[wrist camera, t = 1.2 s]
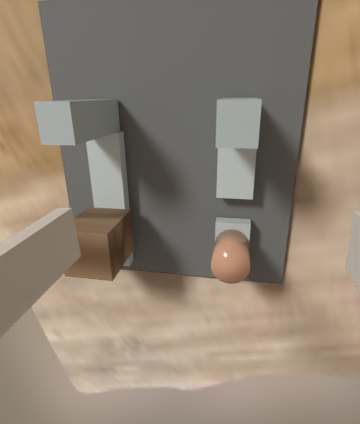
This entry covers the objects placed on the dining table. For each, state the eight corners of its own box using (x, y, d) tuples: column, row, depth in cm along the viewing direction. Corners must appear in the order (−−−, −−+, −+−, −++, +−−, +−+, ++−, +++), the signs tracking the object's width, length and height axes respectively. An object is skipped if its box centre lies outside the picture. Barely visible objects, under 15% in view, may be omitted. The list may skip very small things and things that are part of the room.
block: (88, 207, 38) (56, 230, 31) (130, 209, 37) (107, 234, 30) (93, 246, 40) (65, 276, 33) (133, 249, 39) (112, 280, 32)
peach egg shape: (215, 228, 35) (211, 248, 31) (250, 230, 35) (251, 251, 30) (214, 258, 37) (210, 281, 32) (247, 260, 36) (248, 285, 32)
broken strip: (220, 97, 32) (211, 99, 22) (259, 97, 31) (267, 99, 21) (214, 267, 39) (206, 322, 30) (246, 270, 38) (247, 327, 29)
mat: (40, 2, 32) (37, 1, 32) (319, -20, 27) (320, -21, 27) (80, 263, 44) (78, 264, 43) (281, 282, 39) (281, 283, 38)
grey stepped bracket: (87, 99, 34) (29, 101, 25) (121, 99, 34) (73, 101, 24) (106, 257, 42) (66, 305, 32) (133, 260, 41) (101, 309, 32)
